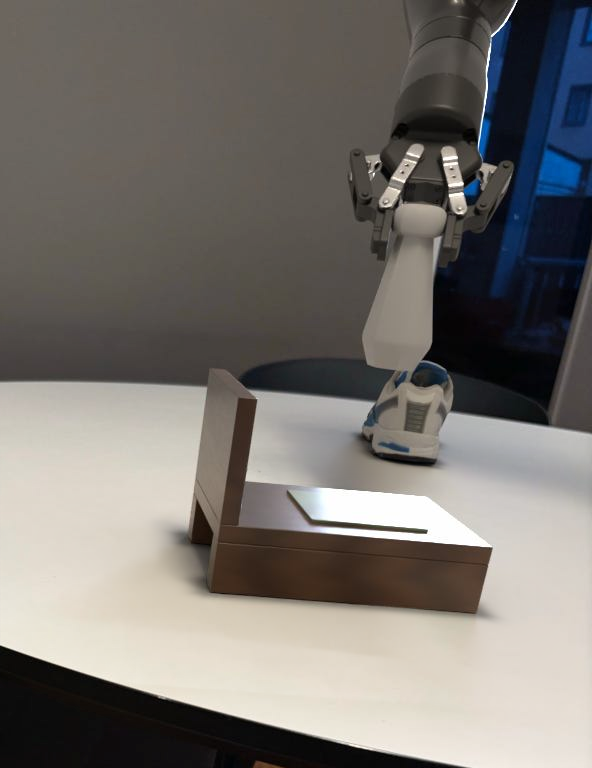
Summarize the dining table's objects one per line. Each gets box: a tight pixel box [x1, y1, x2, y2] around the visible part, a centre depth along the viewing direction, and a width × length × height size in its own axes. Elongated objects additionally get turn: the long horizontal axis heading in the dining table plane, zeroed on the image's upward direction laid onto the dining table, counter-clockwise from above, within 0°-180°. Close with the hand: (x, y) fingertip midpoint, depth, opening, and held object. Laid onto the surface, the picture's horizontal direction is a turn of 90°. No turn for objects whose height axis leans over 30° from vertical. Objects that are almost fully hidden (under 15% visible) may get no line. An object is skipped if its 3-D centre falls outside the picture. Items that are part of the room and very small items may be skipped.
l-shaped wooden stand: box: [187, 367, 493, 614], centre depth 70 cm, size 18×13×13 cm
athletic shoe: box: [361, 360, 454, 463], centre depth 122 cm, size 10×23×12 cm, turn 174°
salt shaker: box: [361, 203, 447, 371], centre depth 85 cm, size 6×6×13 cm
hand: (413, 255), depth 83 cm, fingers closed on salt shaker, 4 cm apart
